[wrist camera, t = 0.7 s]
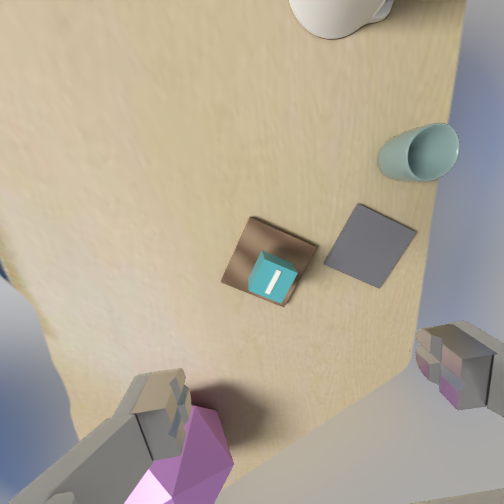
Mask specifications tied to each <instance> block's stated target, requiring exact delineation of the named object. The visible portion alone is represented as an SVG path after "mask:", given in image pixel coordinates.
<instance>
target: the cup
mask: <svg viewBox="0 0 504 504" xmlns="http://www.w3.org/2000/svg"><path fill="white" fill-rule="evenodd" d="M459 150H460V142H459V138H458V135H457V133H456V131H455V130H454V129H453V128H452V127H451V126H450V125H448V124H445V123H434V124H428V125H425V126H421V127H418V128H414V129H411V130H408V131H405V132H403V133H400V134H398V135H396V136H394V137H393V138H391V139H390V140H388V141H387V142H386V143H385V144H384V145H383V146H382V147H381V149H380V151H379V153H378V158H377V162H378V167H379V170H380V171H381V173H382V174H383V175H384V176H385V177H387V178H389V179H392V180H396V181H406V182H427V181H432V180H436V179H438V178H440V177H442V176H444V175H445V174H446V173H448V172H449V171H450V170H451V169H452V168H453V166H454V165H455V163H456V161H457V159H458V156H459Z"/></svg>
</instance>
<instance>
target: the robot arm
mask: <svg viewBox="0 0 504 504" xmlns="http://www.w3.org/2000/svg"><path fill="white" fill-rule="evenodd" d="M385 1H386V2H385ZM393 1H394V0H289V2H290V5H291V8H292V10H293V12H294V14H295V16H296V18H297V19H298V21H299V22H300V23H301V25H302V26H303V27H304V28H305V29H307V30H308V31H309V32H311V33H312V34H314V35H316V36H319V37H322V38H327V39H336V38H341V37H345V36H347V35H349V34H351V33H353V32H355V31H356V30H357V29H359V28H360V27H362V26H363V25H365V24H368V23H374V22H379V21H382V20H383V19H385V18H386V16H387V15H388V13H389V12H390V10H391V7H392V4H393ZM416 340H417V341H418V342H419V344H420V345H419V347H418V348H417V350H416V361H417V364H418V367H419V369H420V370H421V372H422V373H423V374H424V376H425V377H426V378H427V379H428V380H429V381H431V382H434V383H436V384H438V385H439V390H440V392H441V393H442V395H443V396H444V397H445V398H446V399H447V400H448V401H449V402H450V403H451V404H452V405H453V406H454V407H455V408H456V409H457V410H464V409H471V408H479V407H486V406H487V408H488V409H490V410H492V411H493V412H495V413H497V414H499V415H501V416H502V417H504V343H503V342H501V341H499V340H498V339H496V338H495V337H493V336H491V335H489V334H488V333H486V332H485V331H483V330H481V329H480V328H478V327H476V326H475V325H473V324H471V323H470V322H466V321H459V322H454V323H449V324H446V325H440V326H434V327H428V328H423V329H418V331H417V333H416ZM185 378H186V377H185V374H184V371H183V369H181V368H179V369H172V370H165V371H157V372H152V373H145V374H138V375H137V376H136V377H134V379H133V381H132V383H131V384H130V386H129V388H128V390H127V392H126V393H125V395H124V397H123V399H122V400H121V402H120V404H119V406H118V408H117V409H116V411H115V413H114V415H113V417H112V418H108V419H106V420H105V421H104V422H102V423H101V424H100V425H99V426H98V427H96V428H95V429H94V430H93V431H92V432H91V433H89V434H88V435H87V436H86V437H85V438H83V439H82V440H81V441H80V442H79V443H78V444H76V445H75V446H74V447H73V448H72V449H70V450H69V451H68V452H67V453H66V454H65V455H63V456H62V457H61V458H60V459H59V460H57V461H56V462H55V463H54V464H53V465H51V466H50V467H49V468H48V469H47V470H46V471H44V472H43V473H42V474H41V475H40V476H38V477H37V478H36V479H35V480H34V481H33V482H32V483H30V484H29V485H28V486H27V487H25V488H24V489H23V490H22V491H21V492H20V493H18V494H17V495H16V496H15V497H14V498H12V499H11V501H10V502H9V503H8V504H124V503H125V501H126V500H127V499H128V497H129V496H130V494H131V493H132V492H133V490H134V489H135V488H136V486H137V485H138V483H139V482H140V481H141V479H142V478H143V476H144V475H145V474H146V472H147V471H148V469H149V468H150V467H151V465H152V464H153V462H152V461H156V460H161V459H167V458H172V457H177V456H181V454H182V449H183V445H184V440H185V436H186V431H185V428H184V425H185V424H186V423H187V422H188V420H189V418H190V413H191V395H190V391H189V388H188V387H187V386H185V385H184V382H185ZM411 504H504V488H503V489H496V490H490V491H484V492H478V493H472V494H466V495H460V496H454V497H448V498H442V499H436V500H429V501H423V502H417V503H411Z"/></svg>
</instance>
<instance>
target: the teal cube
mask: <svg viewBox="0 0 504 504" xmlns="http://www.w3.org/2000/svg"><path fill="white" fill-rule="evenodd" d="M297 274H298V273H297V271H296V269H295V268H294V266H293V264H292V263H291V262H289V261H286V260H284V259H282V258H279V257H277V256H275V255H272V254H270V253H268V252H265V251H263V250H262V251H261V253H260V255H259V257H258V259H257V261H256V263H255V265H254V267H253V270H252V272H251V274H250V276H249V278H248V287H249V291H251V292H253V293H256V294H258V295H261V296H263V297H266V298H268V299H271V300H273V301H276V302H278V303H282V301H283V299H284V298H285V296H286V294H287V292H288V290H289V288H290V287H291V285H292V283H293V281H294V279H295V277H296V275H297Z"/></svg>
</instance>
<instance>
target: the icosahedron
mask: <svg viewBox="0 0 504 504" xmlns="http://www.w3.org/2000/svg"><path fill="white" fill-rule="evenodd" d="M184 428H185V431H186V436H185V440H184V445H183V449H182V454H181V456H177V457H172V458H167V459H161V460H156V461H152V462H153V464H152V465H151V467H150V468H149V469H148V471H147V472H146V474H145V475H144V476H143V478H142V479H141V481H140V482H139V483H138V485H137V486H136V488H135V489H134V490H133V492H132V493H131V494H130V496H129V497H128V499H127V500H126V501H125V503H124V504H214V502H215V500H216V498H217V496H218V494H219V493H220V491H221V489H222V487H223V485H224V483H225V481H226V479H227V477H228V475H229V473H230V471H231V469H232V467H233V465H234V462H233V459H232V456H231V453H230V450H229V447H228V444H227V441H226V437H225V434H224V431H223V428H222V425H221V422H220V419H219V415H218V412H217V411H216V410H212V409H208V408H204V407H200V406H196V405H192V404H191V413H190V418H189V420H188V422H187V423H186V424H185V425H184Z"/></svg>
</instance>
